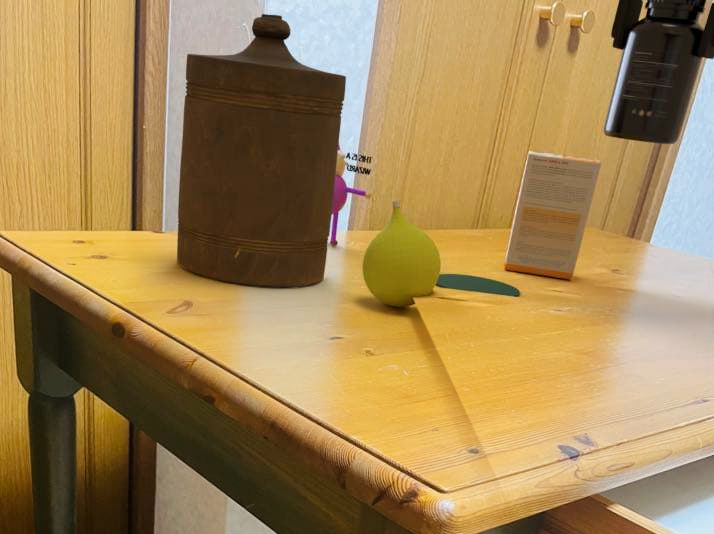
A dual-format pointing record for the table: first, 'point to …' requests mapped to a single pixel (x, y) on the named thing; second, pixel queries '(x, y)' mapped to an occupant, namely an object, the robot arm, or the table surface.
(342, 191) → the wizard figurine
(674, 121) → the supplement bottle
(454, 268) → the table surface
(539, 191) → the supplement box
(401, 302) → the yellow-green fig
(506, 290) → the dark green coaster
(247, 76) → the wooden container
